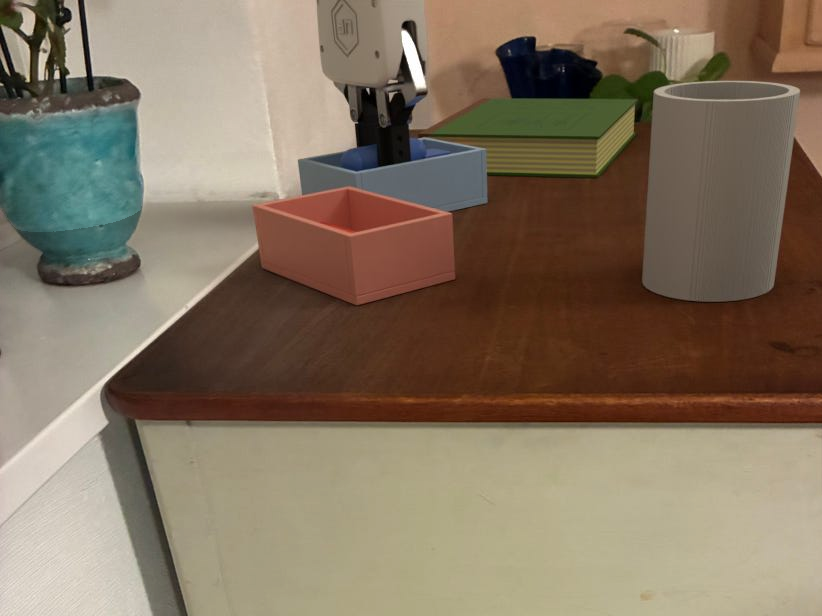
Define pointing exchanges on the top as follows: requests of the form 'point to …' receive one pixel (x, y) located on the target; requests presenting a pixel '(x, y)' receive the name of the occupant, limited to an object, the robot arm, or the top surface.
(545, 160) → the hardcover book
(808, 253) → the top surface
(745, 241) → the cup
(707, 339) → the top surface
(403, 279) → the red bin
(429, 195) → the blue bin
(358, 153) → the blue capsule with block
